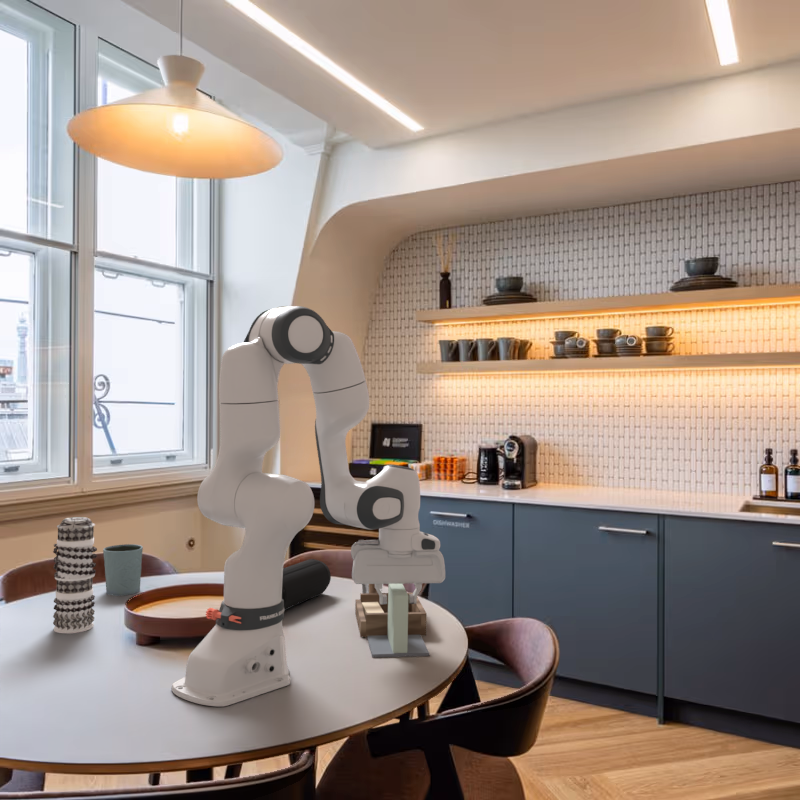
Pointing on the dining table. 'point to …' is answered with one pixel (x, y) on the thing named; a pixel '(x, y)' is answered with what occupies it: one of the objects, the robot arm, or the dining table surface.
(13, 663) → the dining table surface
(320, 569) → the portable speaker
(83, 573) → the decorative candle
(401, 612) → the sage panel
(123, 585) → the green cup
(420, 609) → the open wooden box
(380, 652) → the slate mat
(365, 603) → the offcut top
